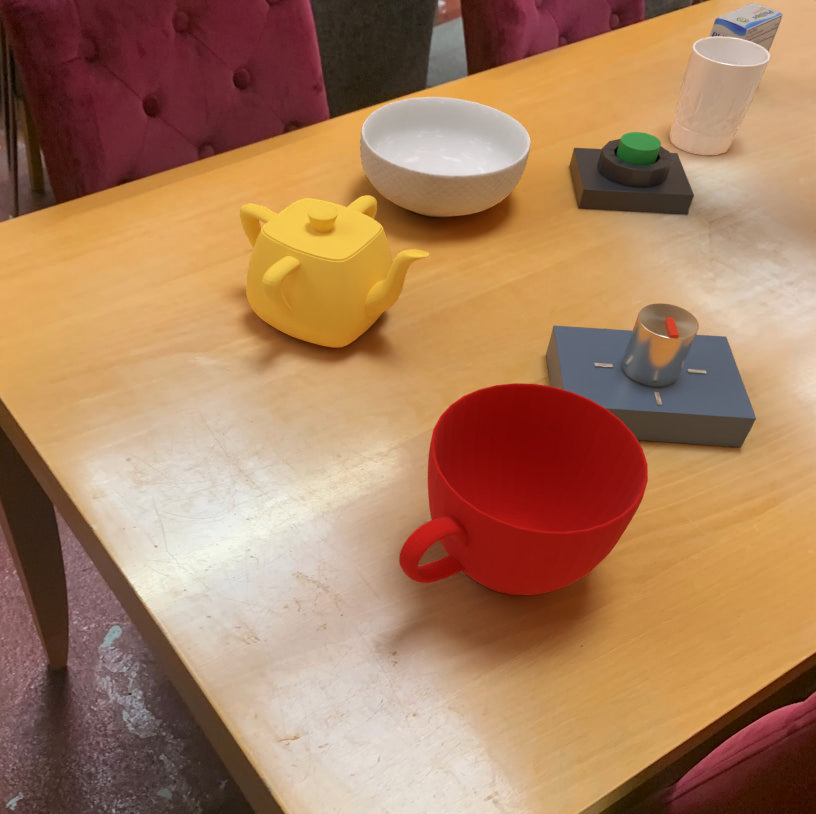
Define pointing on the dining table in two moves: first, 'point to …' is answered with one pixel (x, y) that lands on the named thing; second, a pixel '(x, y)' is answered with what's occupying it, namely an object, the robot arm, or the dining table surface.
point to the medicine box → (749, 24)
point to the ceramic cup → (526, 489)
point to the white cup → (716, 93)
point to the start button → (638, 148)
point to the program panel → (656, 406)
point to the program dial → (659, 344)
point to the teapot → (322, 268)
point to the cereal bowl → (443, 155)
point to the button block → (629, 182)
